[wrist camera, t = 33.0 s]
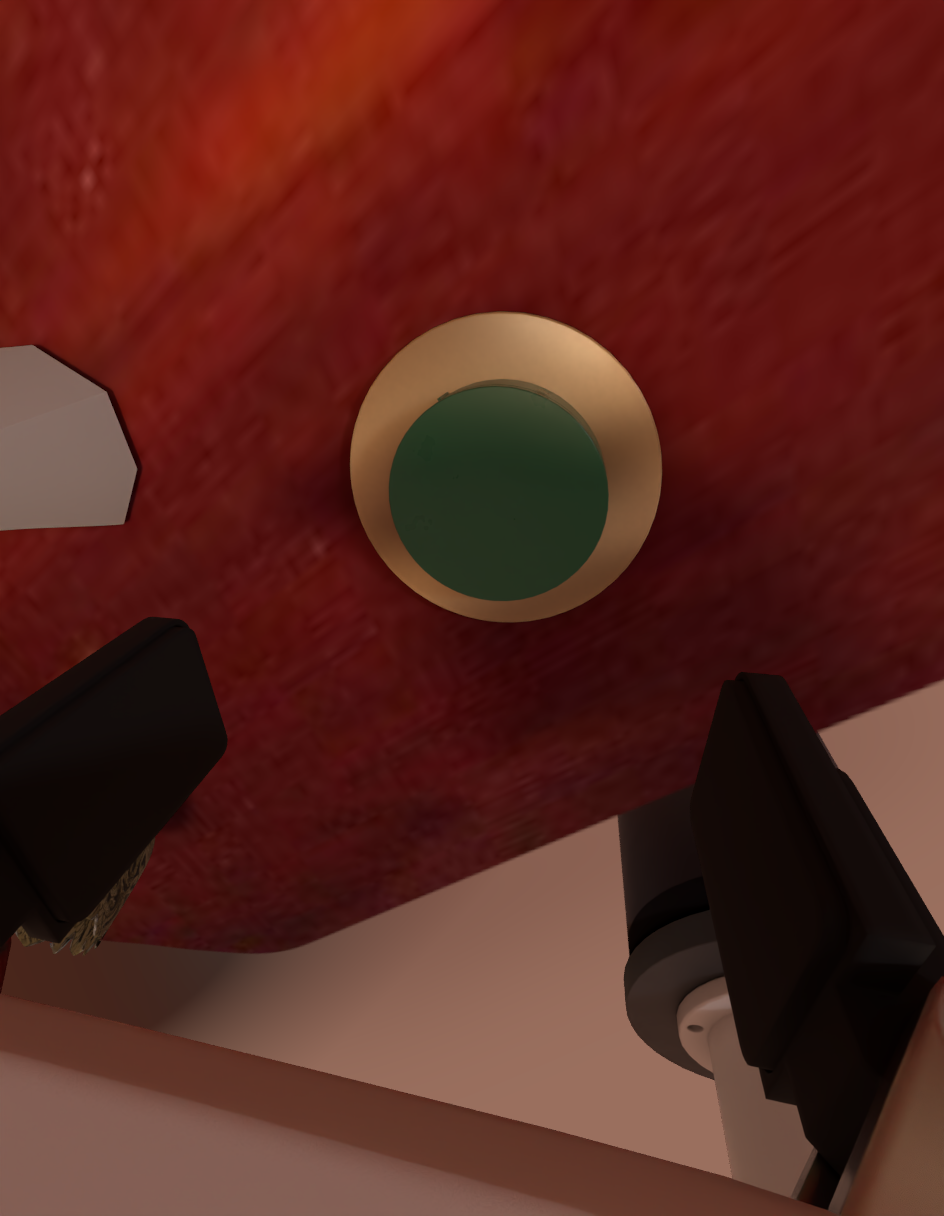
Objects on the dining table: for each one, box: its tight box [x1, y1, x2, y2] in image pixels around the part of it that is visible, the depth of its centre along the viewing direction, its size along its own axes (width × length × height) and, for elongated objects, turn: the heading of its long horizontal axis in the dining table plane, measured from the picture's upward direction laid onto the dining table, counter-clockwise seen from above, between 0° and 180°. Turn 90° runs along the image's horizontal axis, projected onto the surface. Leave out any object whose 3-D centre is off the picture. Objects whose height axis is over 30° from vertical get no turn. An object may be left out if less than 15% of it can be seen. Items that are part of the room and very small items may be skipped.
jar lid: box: [389, 379, 609, 601], centre depth 18 cm, size 7×7×2 cm
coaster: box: [350, 311, 662, 622], centre depth 19 cm, size 11×11×1 cm
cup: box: [15, 837, 155, 956], centre depth 29 cm, size 8×7×8 cm
